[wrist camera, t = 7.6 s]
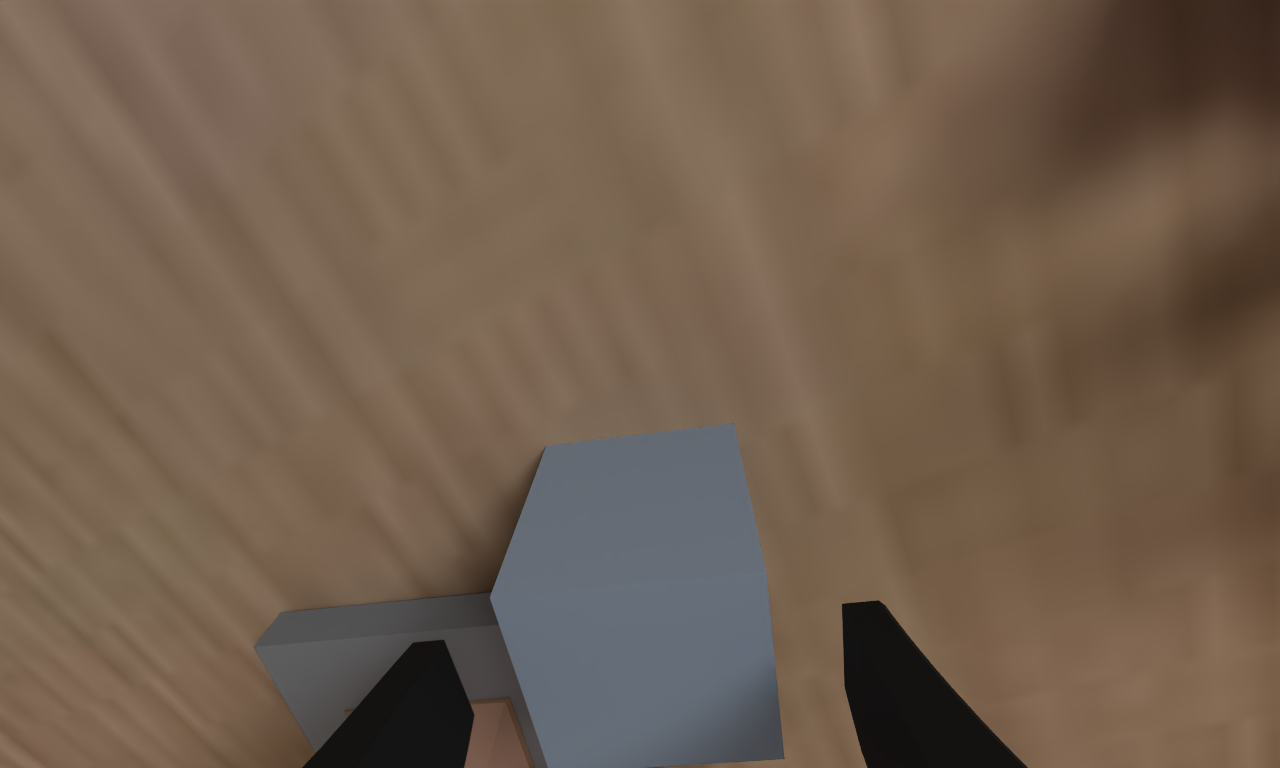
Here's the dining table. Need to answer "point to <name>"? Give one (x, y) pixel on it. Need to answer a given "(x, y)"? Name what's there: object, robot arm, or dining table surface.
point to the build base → (388, 659)
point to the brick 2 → (642, 605)
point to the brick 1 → (494, 739)
